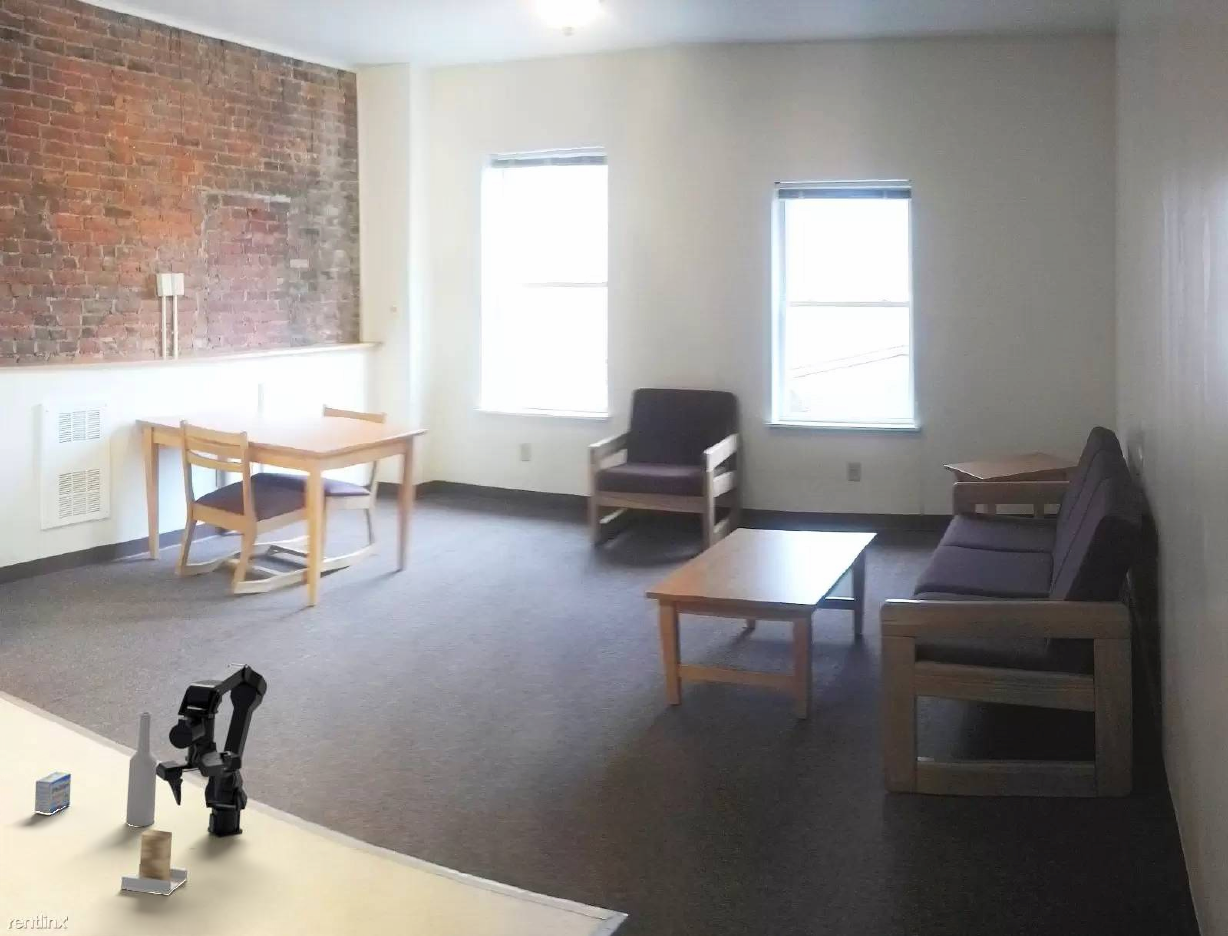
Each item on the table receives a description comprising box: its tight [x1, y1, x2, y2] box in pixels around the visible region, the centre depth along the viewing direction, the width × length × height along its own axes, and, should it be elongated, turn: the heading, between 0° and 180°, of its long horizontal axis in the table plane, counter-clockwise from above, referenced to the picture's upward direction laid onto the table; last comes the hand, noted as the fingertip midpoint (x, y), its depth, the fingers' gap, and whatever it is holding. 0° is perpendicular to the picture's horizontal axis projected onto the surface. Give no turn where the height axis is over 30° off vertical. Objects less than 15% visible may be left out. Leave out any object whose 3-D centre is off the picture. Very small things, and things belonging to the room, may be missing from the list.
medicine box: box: [34, 771, 72, 813], centre depth 301 cm, size 8×4×9 cm, turn 168°
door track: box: [120, 863, 188, 894], centre depth 263 cm, size 11×8×3 cm
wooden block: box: [139, 828, 173, 881], centre depth 263 cm, size 6×3×11 cm, turn 82°
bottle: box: [125, 711, 158, 827], centre depth 297 cm, size 7×7×28 cm
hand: (197, 801), depth 280 cm, fingers open, 9 cm apart
